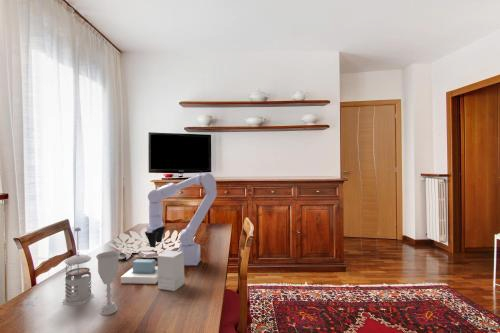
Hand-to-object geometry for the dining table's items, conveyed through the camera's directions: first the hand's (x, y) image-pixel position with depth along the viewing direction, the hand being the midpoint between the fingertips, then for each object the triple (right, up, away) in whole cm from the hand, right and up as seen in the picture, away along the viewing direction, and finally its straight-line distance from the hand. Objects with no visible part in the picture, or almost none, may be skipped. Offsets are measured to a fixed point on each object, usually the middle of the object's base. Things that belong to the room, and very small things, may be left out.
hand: (155, 244), depth 134 cm
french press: (-17, -10, -33) cm, 38 cm away
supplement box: (+14, -10, -24) cm, 29 cm away
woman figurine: (-18, -10, +13) cm, 24 cm away
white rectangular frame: (0, -10, -15) cm, 18 cm away
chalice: (-1, -10, -42) cm, 43 cm away
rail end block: (0, -10, -15) cm, 18 cm away
